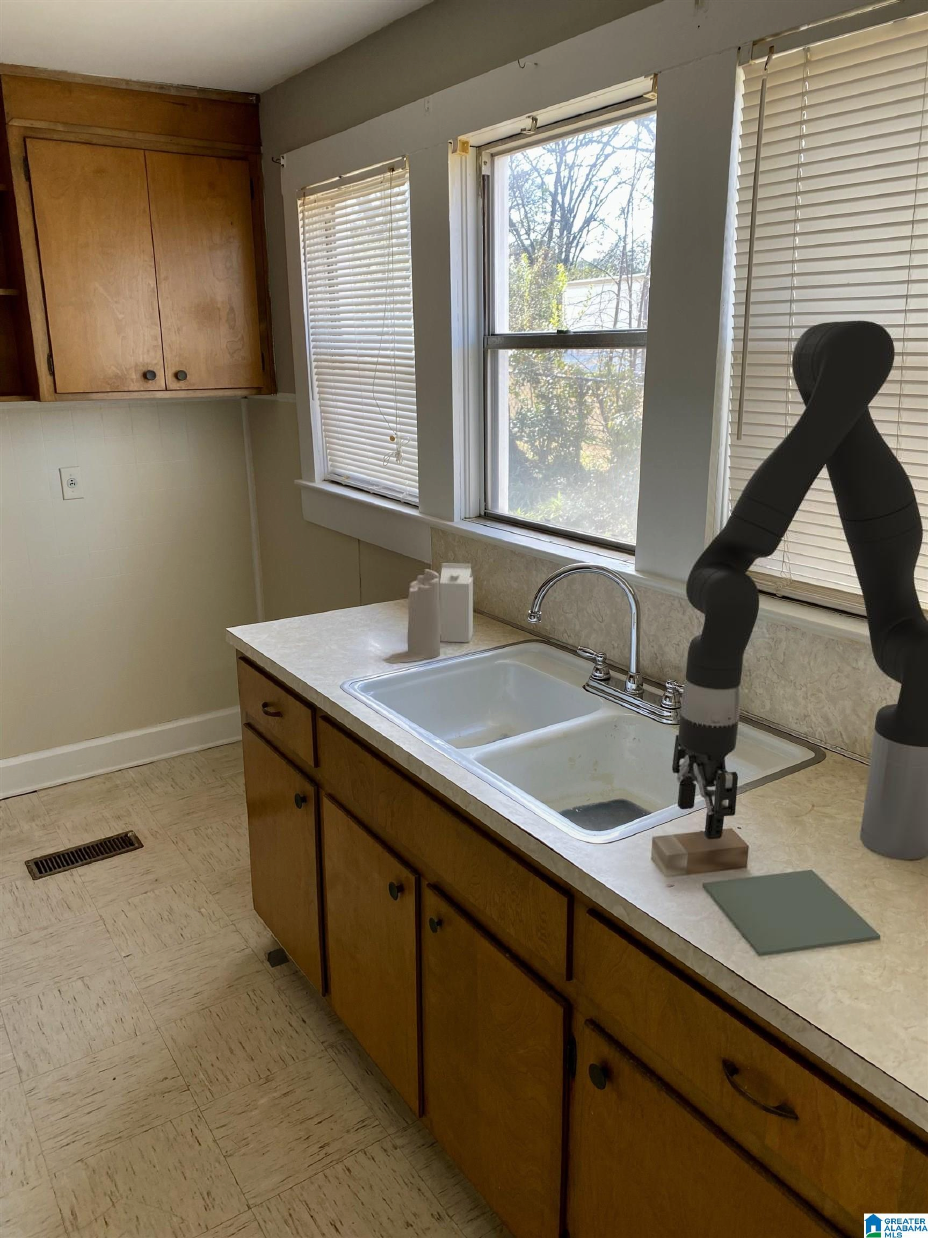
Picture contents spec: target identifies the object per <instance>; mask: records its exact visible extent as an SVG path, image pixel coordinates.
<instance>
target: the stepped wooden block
mask: <svg viewBox="0 0 928 1238" xmlns="http://www.w3.org/2000/svg"><path fill="white" fill-rule="evenodd" d="M704 834H705V830H702V831H701V830H699V831H693V832H685V833H684V832H683V833H673V834H665V835H657V836H656V835H655V836H652V838H651V839H652V841H651V851H650V852H651V854H650V855H651V856H650V859H651V861H652V862H653V863H654V864H655V866H656V868H658V870H659V871H660V872H661V873H662V875H663V876H664V877H665V878H667V879H668V878H673V877H681V876H691V875H698V874H699V875H700V874H706V873H714V872H715V873H716V872H723V871H725V872H726V871H733V870H740V869H747V868H748V859H749V851H750V850H749V849H750V847H749V844H748V843H747V842H746V841H745V840H744V839H743V838H742V837H741V836H740V834H738V833H737V832H736V831H735V830H734V829H733V827H728V828H727V827H726V828H723V832H722V837H721V838H719V839H707V838H706V836H705V835H704Z"/></svg>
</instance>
